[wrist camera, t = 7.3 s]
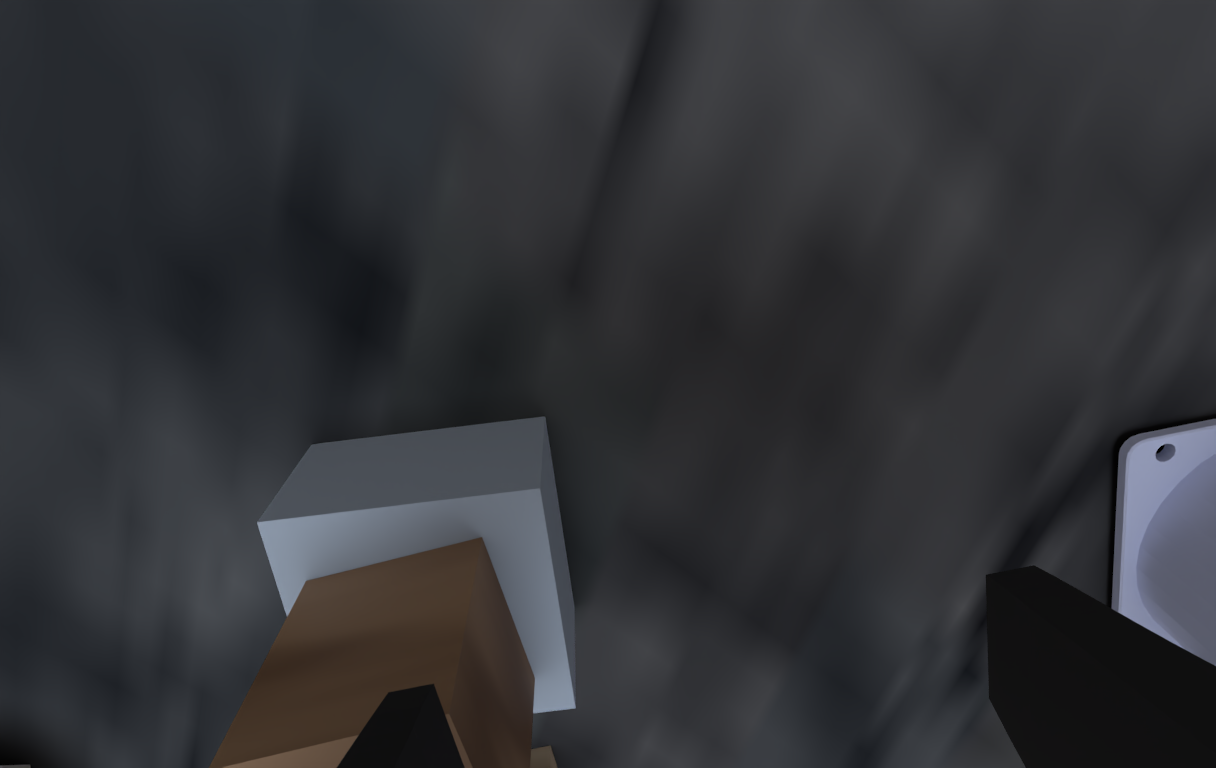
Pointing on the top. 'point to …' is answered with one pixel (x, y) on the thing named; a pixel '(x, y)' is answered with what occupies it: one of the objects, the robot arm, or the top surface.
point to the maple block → (542, 758)
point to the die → (15, 766)
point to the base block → (438, 524)
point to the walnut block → (390, 663)
